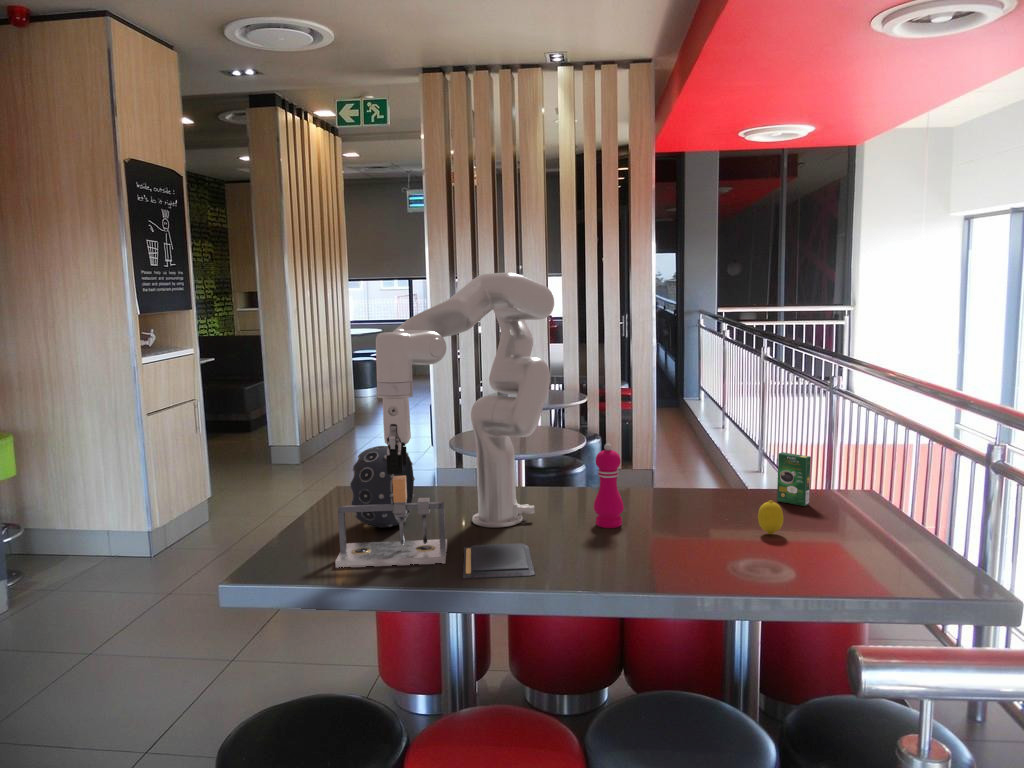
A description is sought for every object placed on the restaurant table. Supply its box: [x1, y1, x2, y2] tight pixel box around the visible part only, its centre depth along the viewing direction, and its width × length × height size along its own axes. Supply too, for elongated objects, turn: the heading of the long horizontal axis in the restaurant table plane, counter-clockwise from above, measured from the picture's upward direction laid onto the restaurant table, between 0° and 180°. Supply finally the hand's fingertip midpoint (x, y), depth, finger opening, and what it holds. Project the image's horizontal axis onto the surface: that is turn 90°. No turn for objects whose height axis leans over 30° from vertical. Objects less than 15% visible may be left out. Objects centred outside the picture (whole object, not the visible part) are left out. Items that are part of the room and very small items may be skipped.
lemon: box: [757, 499, 785, 535], centre depth 175 cm, size 6×6×8 cm
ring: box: [349, 445, 416, 529], centre depth 190 cm, size 11×20×20 cm, turn 170°
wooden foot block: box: [393, 476, 407, 545], centre depth 166 cm, size 3×4×15 cm
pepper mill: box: [593, 443, 625, 529], centre depth 185 cm, size 7×7×20 cm
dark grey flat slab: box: [462, 542, 536, 580], centre depth 162 cm, size 20×2×15 cm
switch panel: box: [334, 497, 448, 569], centre depth 166 cm, size 23×12×12 cm, turn 93°
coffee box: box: [776, 451, 812, 507], centre depth 200 cm, size 8×3×13 cm, turn 44°
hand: (397, 469), depth 165 cm, fingers open, 9 cm apart
